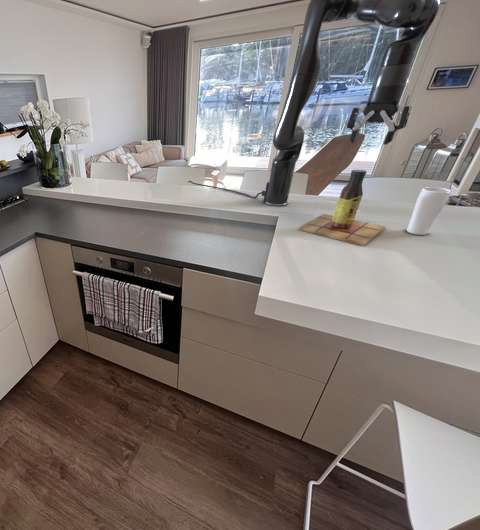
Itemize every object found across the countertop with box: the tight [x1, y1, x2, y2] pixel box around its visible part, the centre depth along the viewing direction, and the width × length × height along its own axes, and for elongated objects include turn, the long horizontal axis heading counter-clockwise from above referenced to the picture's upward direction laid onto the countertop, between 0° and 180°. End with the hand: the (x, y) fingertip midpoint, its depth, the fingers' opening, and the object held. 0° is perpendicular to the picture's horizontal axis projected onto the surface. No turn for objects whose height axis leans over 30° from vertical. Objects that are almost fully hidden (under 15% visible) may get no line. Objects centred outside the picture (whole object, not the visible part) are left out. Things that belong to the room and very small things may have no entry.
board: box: [299, 213, 386, 247], centre depth 105 cm, size 20×20×1 cm
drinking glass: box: [406, 186, 452, 236], centre depth 96 cm, size 7×7×15 cm
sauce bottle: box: [331, 169, 368, 228], centre depth 101 cm, size 7×6×20 cm
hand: (368, 143), depth 92 cm, fingers open, 8 cm apart
